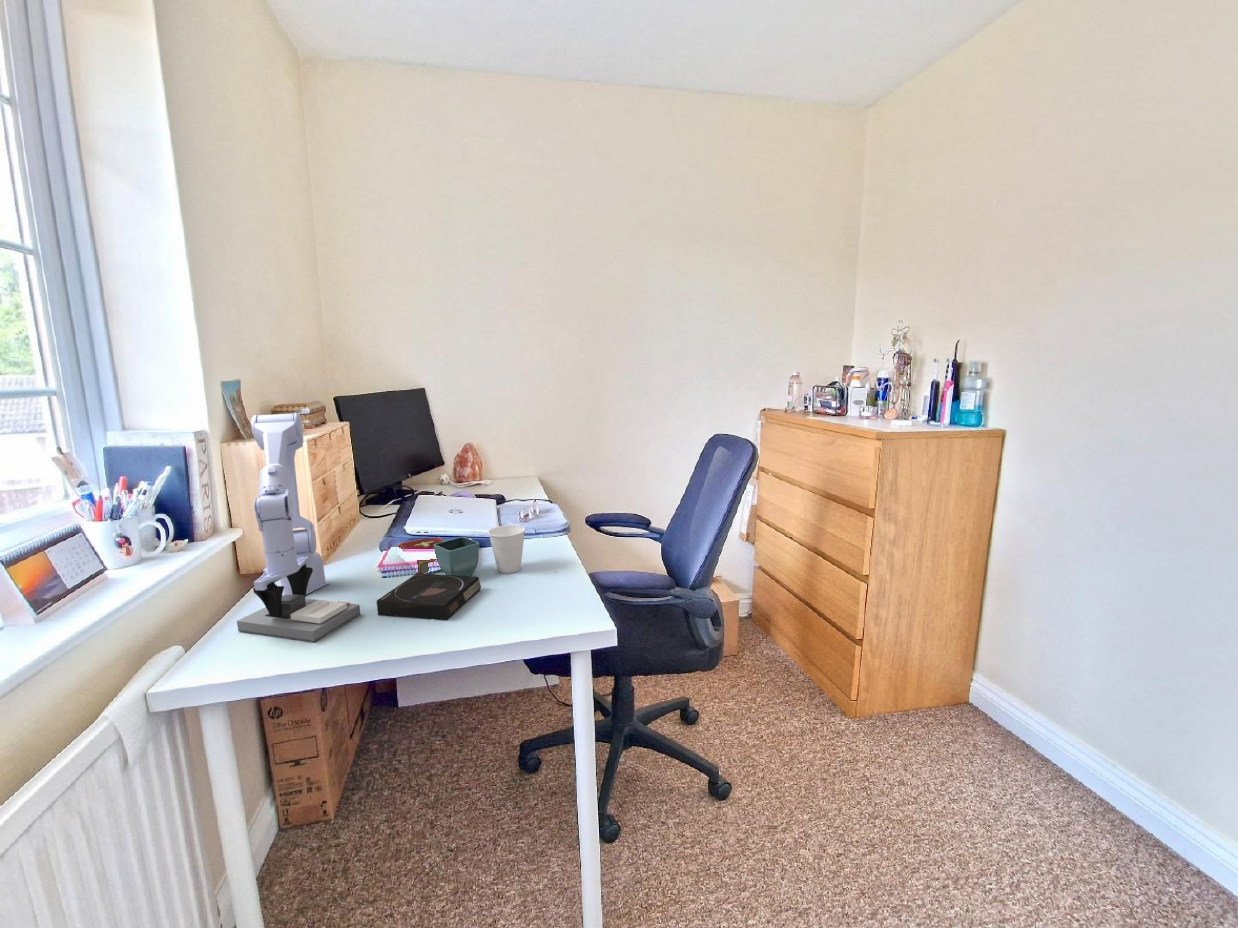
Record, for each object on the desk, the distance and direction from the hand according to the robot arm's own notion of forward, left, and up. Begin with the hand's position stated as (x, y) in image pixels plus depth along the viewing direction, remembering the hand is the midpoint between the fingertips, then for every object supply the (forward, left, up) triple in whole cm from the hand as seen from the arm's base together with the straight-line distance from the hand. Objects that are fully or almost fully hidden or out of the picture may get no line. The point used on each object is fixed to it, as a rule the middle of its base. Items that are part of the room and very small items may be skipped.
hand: (288, 608), depth 121 cm
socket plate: (0, +3, -3) cm, 4 cm away
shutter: (0, +8, 0) cm, 8 cm away
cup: (-39, +33, -3) cm, 51 cm away
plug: (0, 0, -3) cm, 3 cm away
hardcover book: (-41, +7, -4) cm, 42 cm away
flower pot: (-32, +22, -3) cm, 39 cm away
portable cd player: (-16, +25, -4) cm, 30 cm away
